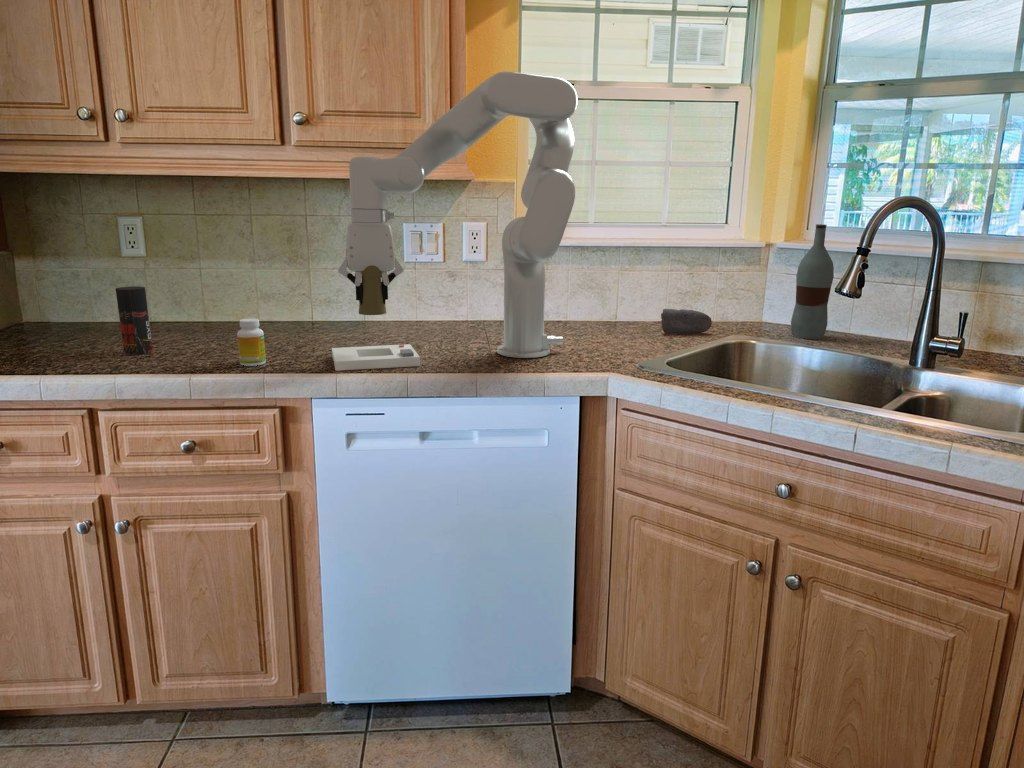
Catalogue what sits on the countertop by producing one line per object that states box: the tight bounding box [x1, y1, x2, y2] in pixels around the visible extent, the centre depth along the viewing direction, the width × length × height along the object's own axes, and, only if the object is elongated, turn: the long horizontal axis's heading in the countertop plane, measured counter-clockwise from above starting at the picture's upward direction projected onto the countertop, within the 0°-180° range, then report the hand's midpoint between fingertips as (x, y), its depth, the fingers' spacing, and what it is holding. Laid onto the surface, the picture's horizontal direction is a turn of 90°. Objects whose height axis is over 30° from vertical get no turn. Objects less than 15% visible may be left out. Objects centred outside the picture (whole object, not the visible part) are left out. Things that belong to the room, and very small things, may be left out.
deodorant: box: [115, 286, 154, 356], centre depth 159 cm, size 6×6×15 cm
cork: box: [358, 265, 387, 316], centre depth 151 cm, size 6×6×11 cm
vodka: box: [790, 223, 835, 340], centre depth 185 cm, size 9×9×30 cm
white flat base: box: [331, 343, 421, 372], centre depth 155 cm, size 18×14×3 cm
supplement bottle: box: [236, 318, 267, 367], centre depth 150 cm, size 5×5×10 cm
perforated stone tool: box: [660, 308, 713, 335], centre depth 191 cm, size 15×5×7 cm, turn 94°
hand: (372, 302), depth 152 cm, fingers closed on cork, 4 cm apart
